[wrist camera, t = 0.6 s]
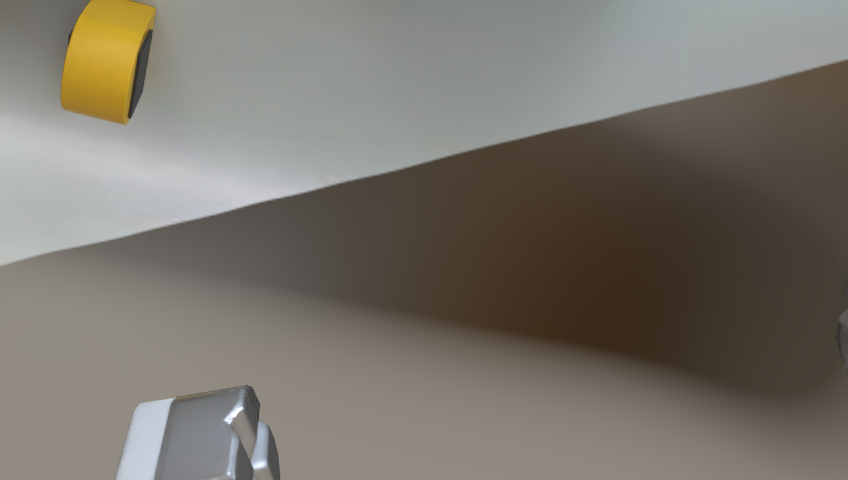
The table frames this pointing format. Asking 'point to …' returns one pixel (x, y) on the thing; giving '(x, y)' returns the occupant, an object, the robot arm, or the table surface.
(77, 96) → the tape measure
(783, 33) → the table surface
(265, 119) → the table surface
